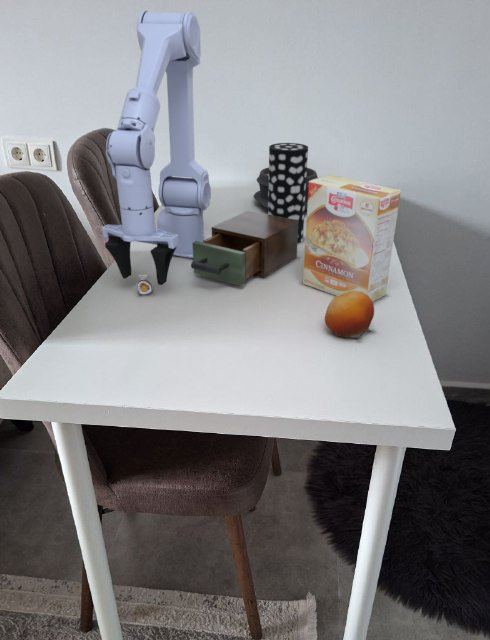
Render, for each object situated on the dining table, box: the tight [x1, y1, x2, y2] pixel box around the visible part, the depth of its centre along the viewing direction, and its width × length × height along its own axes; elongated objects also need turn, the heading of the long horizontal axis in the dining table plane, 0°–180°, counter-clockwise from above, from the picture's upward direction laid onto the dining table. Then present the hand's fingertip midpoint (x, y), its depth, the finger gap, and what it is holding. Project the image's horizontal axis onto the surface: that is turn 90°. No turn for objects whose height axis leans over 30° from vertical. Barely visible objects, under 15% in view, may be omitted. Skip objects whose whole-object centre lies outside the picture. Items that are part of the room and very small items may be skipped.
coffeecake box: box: [302, 174, 402, 303], centre depth 104 cm, size 15×7×20 cm, turn 46°
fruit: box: [324, 291, 375, 340], centre depth 94 cm, size 8×8×8 cm
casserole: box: [253, 166, 319, 211], centre depth 154 cm, size 25×19×8 cm
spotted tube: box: [267, 142, 309, 244], centre depth 127 cm, size 8×8×20 cm
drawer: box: [190, 233, 262, 287], centre depth 112 cm, size 17×11×6 cm
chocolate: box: [136, 274, 154, 296], centre depth 107 cm, size 3×2×4 cm
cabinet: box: [211, 210, 299, 279], centre depth 119 cm, size 14×13×8 cm
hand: (144, 279), depth 106 cm, fingers open, 7 cm apart
